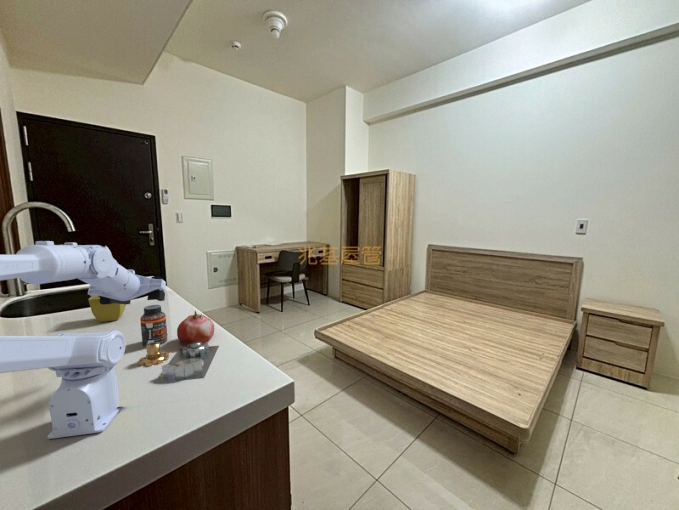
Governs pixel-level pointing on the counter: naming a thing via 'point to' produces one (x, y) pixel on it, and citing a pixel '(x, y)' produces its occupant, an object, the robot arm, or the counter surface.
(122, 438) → the counter surface
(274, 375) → the counter surface
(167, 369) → the ring gear segment
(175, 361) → the carrier plate
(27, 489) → the counter surface
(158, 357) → the planet gear
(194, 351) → the sun gear
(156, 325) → the supplement bottle
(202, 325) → the fruit
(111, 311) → the flower pot
